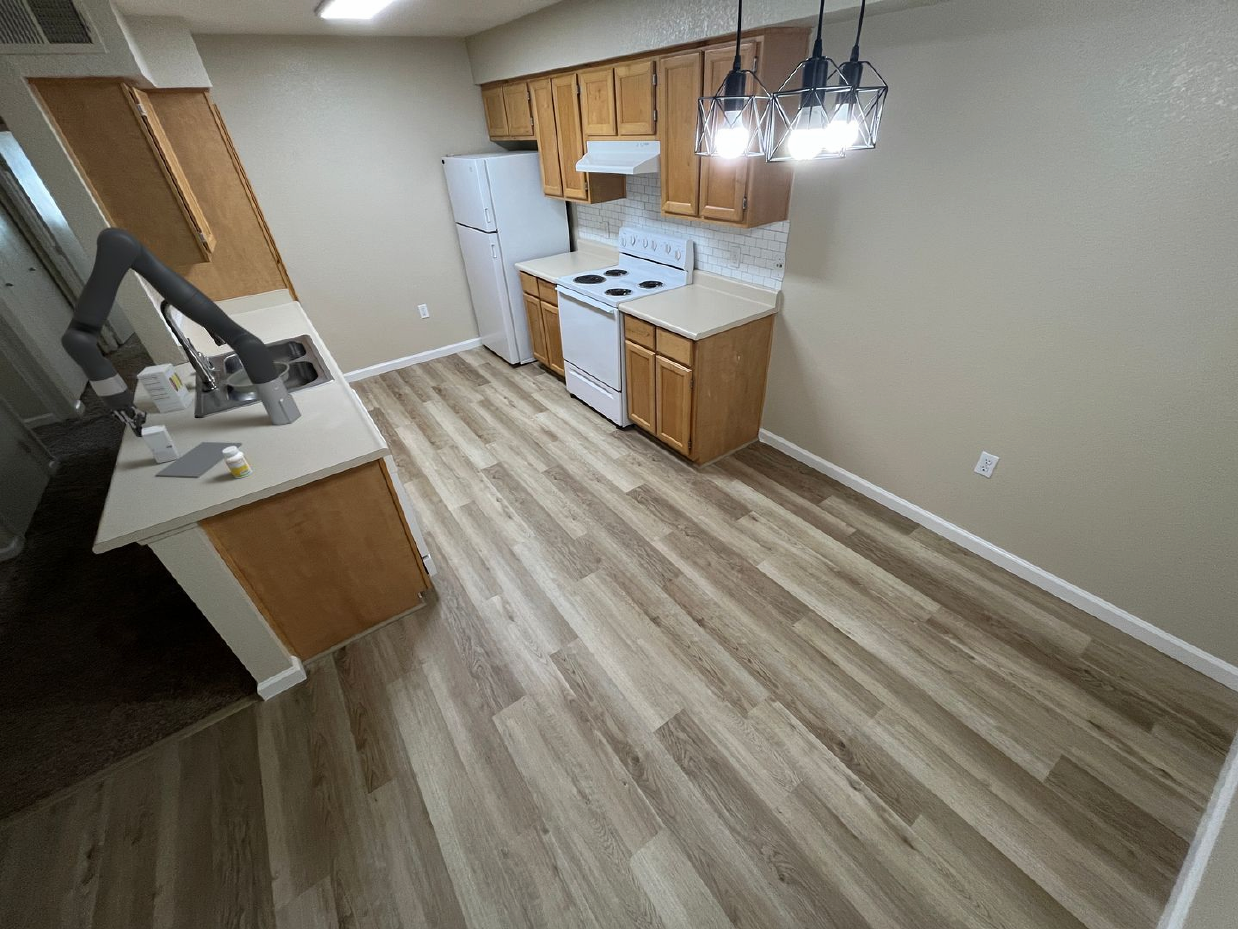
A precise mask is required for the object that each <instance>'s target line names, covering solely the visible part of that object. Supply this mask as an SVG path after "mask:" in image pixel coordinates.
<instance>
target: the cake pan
mask: <svg viewBox="0 0 1238 929" xmlns="http://www.w3.org/2000/svg"><path fill="white" fill-rule="evenodd" d="M274 363H275V365H276V368H277V371H278V373H279V375H280V377H281V379H282V381H283V383H284V382H286V381H287V380H288V379H289V376H290V375H289V374H290V373H289V370H290V365H289V364H288V363H287V362H281V361H274ZM226 384H227V385H228V386H231V387H232V388H233V389H234V390H235V391H236V392H238V393H243V394H252V393H257V392H256V390H255V388H254V386H253V384H252V383H251V381H250V379H249V377H248V375H247V373H246V371H245V369H244V368H242V369H239V370H237V371H236V372H234V373H232V374H231V375H230V376H228V377H227V379H226Z"/></svg>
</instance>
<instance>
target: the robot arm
mask: <svg viewBox="0 0 1238 929" xmlns="http://www.w3.org/2000/svg"><path fill="white" fill-rule="evenodd" d="M130 269H131V270H132V271H134V272H135V273H136V274H138V275H140V277H142V278H143V279H144V280H145V281H146V282H148V283H149V284H150V286H151V287H152V288H153V289H154V290H155V291H156V293H158V294H159V295H160V296H161V297H162V299H164V300H165V301H166V302H167V303H168V304H169V305H170V306H172V307H173V308H174V309H175V310H177V312H179V313H181V314H182V315H183V316H185V317H186V318H187V319H189V320H191V321H192V322H194V323H195V324H197V325H199V326H201V327H202V328H205V330H208V331H210V332H211V333H213V334H215V335H216V336H217V337H218V338H220V340H222V341H223V342H224V343H225V344H227V346H229V347H230V349H232V351H234V353H235V354H236V356H237V358H238V359H239V361H240V363H241V365H242V367H243V369H245V371H246V373H247V375H248V377H249V379H250V381H251V383H252V384H253V386H254V388H255V390H256V392H255V393H256V394H257V395H258V398H259V399H260V400H259V401H261V403H262V405H263V407H264V409H265V411H266V413H267V414H268V417H269V418H270V420H271V422H272V424H273V425H276V426H281V425H287V424H292V423H293V422H295V421H296V420H298V418H300V417H301V416H302V414H301V411H300V410H299V409H300V408H299V406H297V403H296V401H295V399H294V397H293V394H292V393H289V391H288V389H287V388H286V385H285V384H284V382H283V381H282V379H281V377H280V372H278V371H277V368H276V365H275V363H274V362H275V361H274V359H273V357H272V355H271V353H270V351H269V349H268V347H267V345H266V344H265V343H264V341H262V339H260V337H258V336H256V335H255V334H253V333H251V332H250V331H249V330H247V329H245V328H244V327H242V326H241V325H240V324H238V323H237V322H235V321H234V320H233V318H231V317H230V316H228V315H227V313H226V312H225V311H224V310H223V309H222V308H220V306H219V305H218V304H217V303H216V302H214V301H213V300H212V299H211V298H210V297H208V295H207V294H205V293H204V292H203V291H201V290H200V289H199V288H198V287H197V286H195V285H194V284H192V283H191V282H190V281H189V280H187V279H186V278H184V277H183V276H182V275H180V274H179V273H178V272H176V271H175V270H173V269H172V268H171V267H169V266H168V265H167V264H165V263H164V262H163V261H161V260H160V259H159V258H158V257H157V256H156V255H155V254H154V253H153V252H151V251H150V249H148V248H147V247H146V246H145V245H144V244H143V243H142V242H141V241H140V240H139V239H138V238H137V237H136V236H135V235H134V234H133V233H132V232H129V231H128V230H126V229H123V228H120V227H111V226H110V227H105V228H104V229H102V230H101V231H100V232H99V234H98V235H97V237H96V253H95V260H94V264H93V268H92V271H91V272H90V276H89V278H88V279H87V281H86V283H85V284H84V287H83V288H82V290H81V292H80V293H79V297H78V299H77V300H76V304H75V306H74V309H73V312H72V318H71V319H70V322H69V324H68V326H67V328H66V330H65V331H64V333H63V335H62V336H61V338H60V342H61V345H62V348H63V349H64V351H65V352H66V353H67V355H68V356H69V357H70V358H71V359H72V360H73V361H74V362H75V364H77V365H78V366H79V367H80V368H81V371H82V372H83V373H84V375H85V376H86V378H87V380H89V383H90V385H91V387H92V389H93V390H94V391H95V393H96V396H98V398H99V399H100V401H101V402H102V403H103V406H105V407H106V408H109V409H110V411H108V412H107V415H108V416H109V417H110V418H112V419H113V420H115V421H116V422H118V423H119V424H120V425H122V426H124V427H126V426H127V427H128V428H129V429H131V430H132V432H133V434H134V435H135V436H136V437H137V438H143V437H142V428H144V427H143V425H144V424H146V422H147V415H148V412H147V411H146V410H140V409H138V408H139V407H137V405H136V404H134V401H135V397H134V395H133V394H132V392H131V390H130V388H128V386H127V384H126V382H125V381H124V380H123V378H122V377H121V375H120V374H119V373H118V372H117V370H116V368H115V367H114V365H113V364H112V362H111V361H110V360H109V358H107V357H105V356H103V354H102V353H101V351H100V350H99V349H98V348H99V347H97V344H98V342H99V338H100V336H101V333H102V331H103V328H104V325H105V323H107V320H108V318H109V316H110V314H111V311H112V309H113V305H114V303H115V300H116V296H117V293H118V290H119V288H120V286H121V284H122V282H123V279H124V277H125V276H126V274H127V273H128V272H129V270H130Z"/></svg>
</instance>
